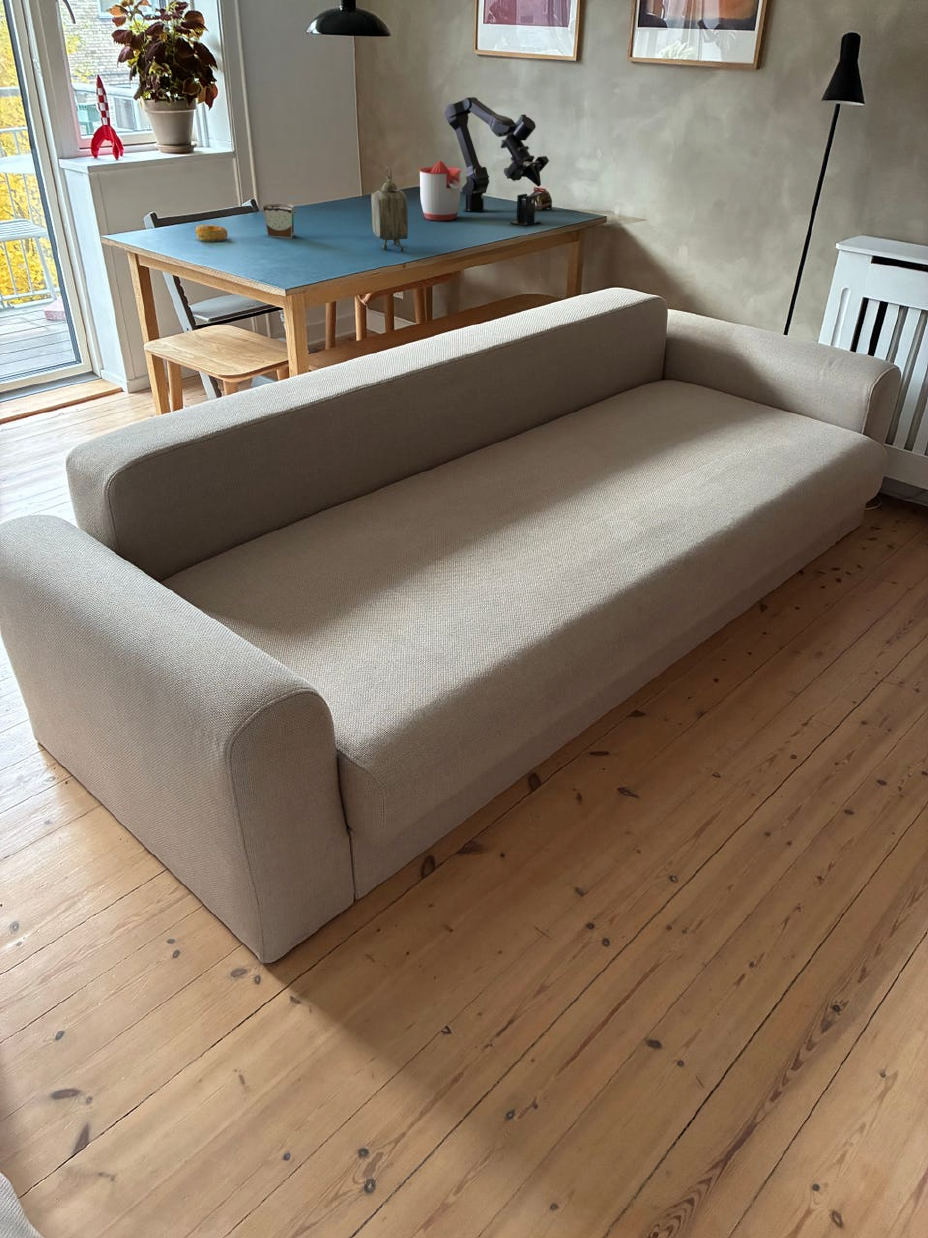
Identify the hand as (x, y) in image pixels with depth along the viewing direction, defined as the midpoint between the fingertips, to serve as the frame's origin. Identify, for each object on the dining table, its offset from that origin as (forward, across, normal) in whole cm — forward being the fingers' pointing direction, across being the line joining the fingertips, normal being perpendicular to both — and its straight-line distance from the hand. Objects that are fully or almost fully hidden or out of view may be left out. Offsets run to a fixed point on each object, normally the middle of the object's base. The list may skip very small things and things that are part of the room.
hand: (539, 185), depth 349 cm
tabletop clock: (+4, +70, -14) cm, 72 cm away
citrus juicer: (-12, +20, -31) cm, 39 cm away
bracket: (+9, +8, -9) cm, 15 cm away
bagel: (-35, +102, -53) cm, 120 cm away
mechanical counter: (-2, -18, -20) cm, 27 cm away
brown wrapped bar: (+3, +4, -3) cm, 6 cm away
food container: (-26, +82, -44) cm, 96 cm away
